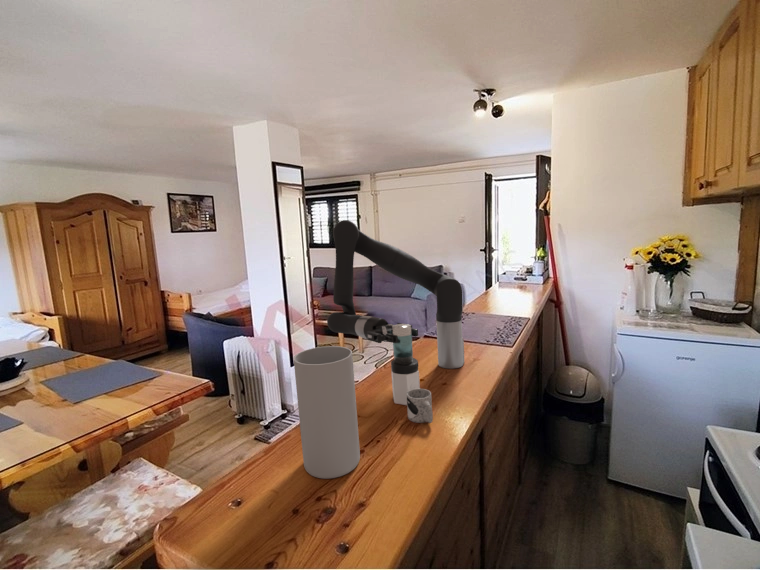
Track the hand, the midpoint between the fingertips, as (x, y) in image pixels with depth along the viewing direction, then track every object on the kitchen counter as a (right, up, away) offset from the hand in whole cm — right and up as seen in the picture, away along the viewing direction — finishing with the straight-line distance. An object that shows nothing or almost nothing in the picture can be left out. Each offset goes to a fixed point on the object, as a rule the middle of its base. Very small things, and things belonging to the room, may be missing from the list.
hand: (407, 336), depth 109 cm
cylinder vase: (-19, -25, -26) cm, 40 cm away
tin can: (-1, -8, +2) cm, 8 cm away
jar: (0, -20, +4) cm, 20 cm away
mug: (+4, -21, -9) cm, 23 cm away
